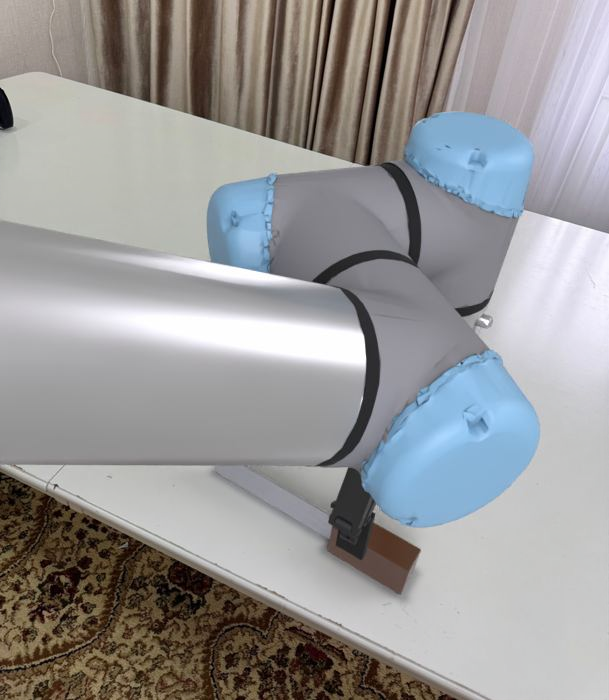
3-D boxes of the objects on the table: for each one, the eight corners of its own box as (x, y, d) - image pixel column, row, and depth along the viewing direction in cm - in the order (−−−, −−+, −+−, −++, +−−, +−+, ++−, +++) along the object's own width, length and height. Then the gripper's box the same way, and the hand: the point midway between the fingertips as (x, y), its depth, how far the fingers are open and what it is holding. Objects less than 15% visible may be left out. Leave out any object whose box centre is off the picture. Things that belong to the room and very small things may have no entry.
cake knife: (412, 573, 67) (421, 549, 64) (400, 595, 65) (409, 571, 62) (224, 463, 76) (223, 437, 73) (209, 480, 74) (207, 453, 71)
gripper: (399, 466, 37) (357, 625, 51) (525, 271, 53) (466, 433, 67) (292, 412, 39) (281, 577, 54) (443, 242, 56) (403, 403, 70)
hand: (384, 497), depth 60 cm, fingers open, 13 cm apart
